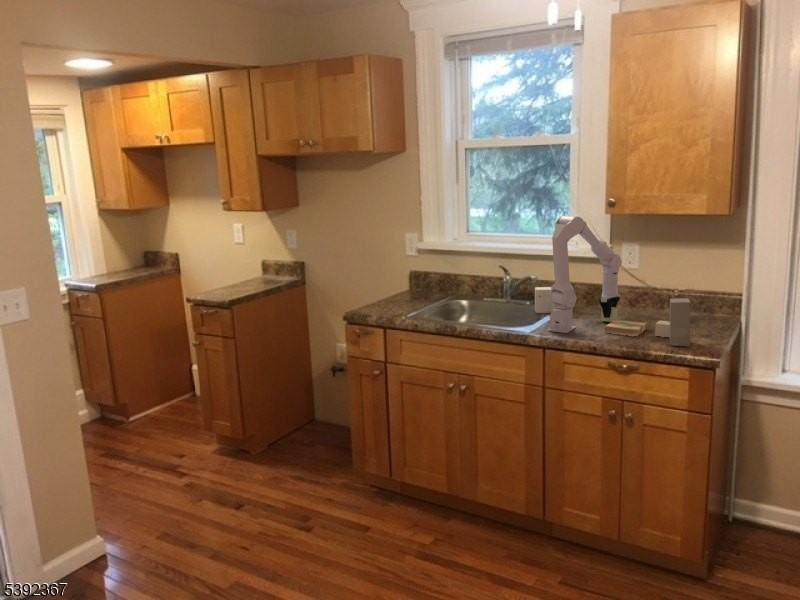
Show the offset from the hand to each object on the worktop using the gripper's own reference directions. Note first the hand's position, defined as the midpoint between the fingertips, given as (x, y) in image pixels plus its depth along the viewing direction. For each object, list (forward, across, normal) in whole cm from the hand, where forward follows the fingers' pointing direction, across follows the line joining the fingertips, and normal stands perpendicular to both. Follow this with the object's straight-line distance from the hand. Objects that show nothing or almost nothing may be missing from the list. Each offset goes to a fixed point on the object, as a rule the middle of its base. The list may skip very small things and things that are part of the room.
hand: (609, 316), depth 261 cm
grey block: (+2, -11, -24) cm, 26 cm away
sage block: (+2, 0, 0) cm, 2 cm away
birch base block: (+3, -11, -10) cm, 15 cm away
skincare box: (+3, -19, -31) cm, 36 cm away
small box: (+3, +5, +30) cm, 31 cm away
